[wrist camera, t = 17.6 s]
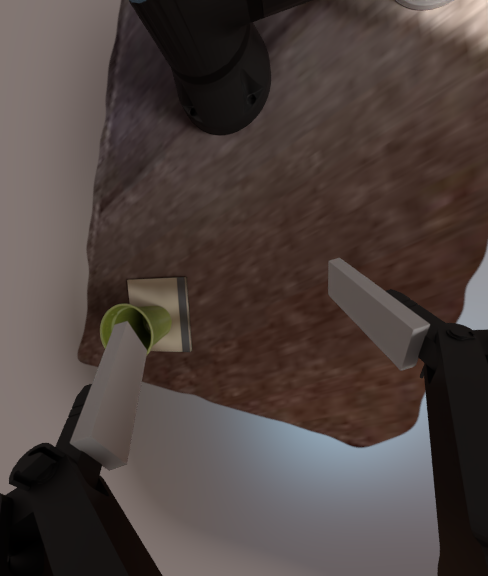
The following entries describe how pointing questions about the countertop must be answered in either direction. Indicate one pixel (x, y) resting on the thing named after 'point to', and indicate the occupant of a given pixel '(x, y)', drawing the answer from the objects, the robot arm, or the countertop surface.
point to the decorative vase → (423, 4)
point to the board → (172, 299)
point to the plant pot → (137, 323)
